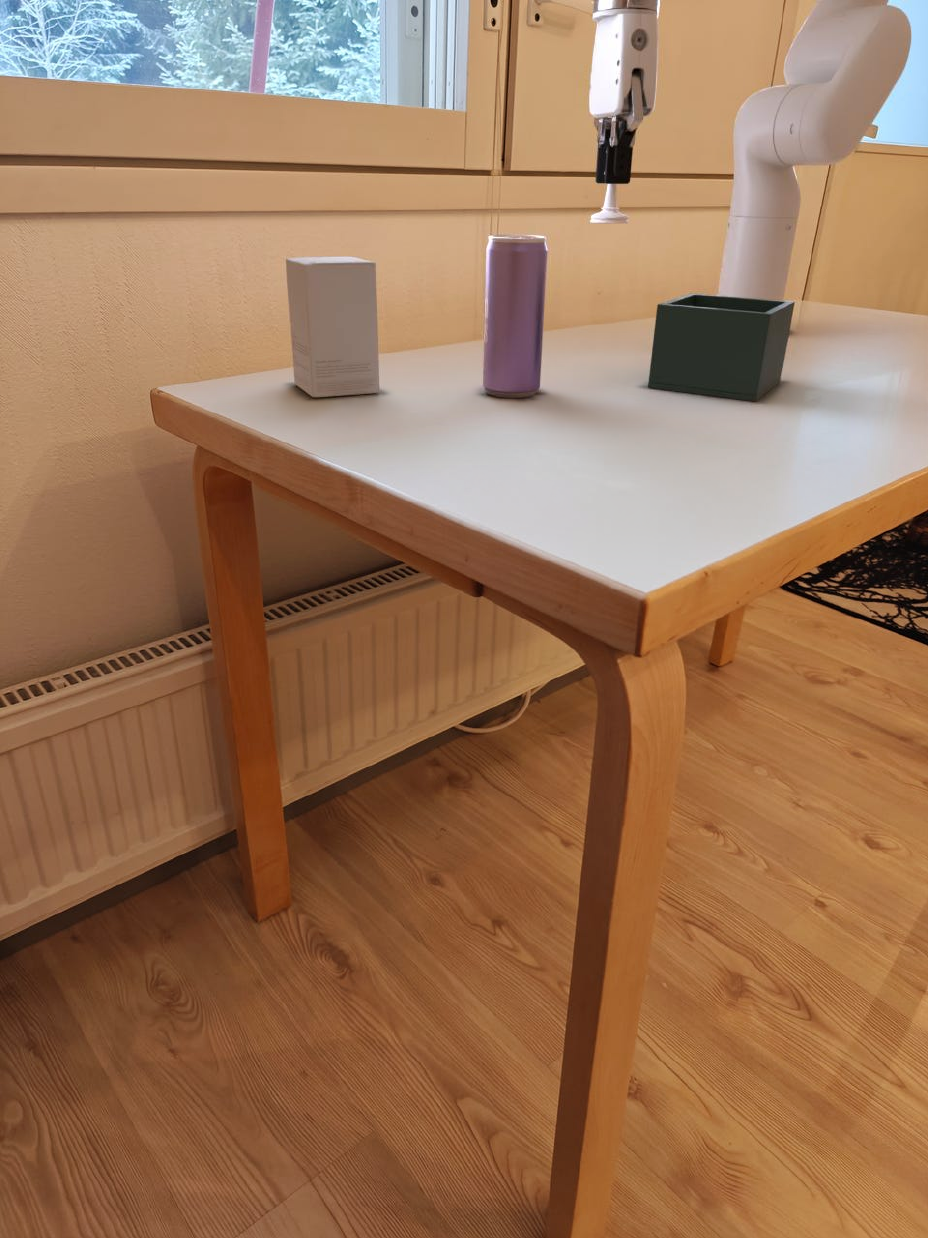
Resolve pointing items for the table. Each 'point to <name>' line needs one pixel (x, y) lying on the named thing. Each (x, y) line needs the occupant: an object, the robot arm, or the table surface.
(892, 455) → the table surface
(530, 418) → the table surface
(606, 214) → the chess piece
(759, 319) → the bin
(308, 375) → the white packaging box
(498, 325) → the beverage can
